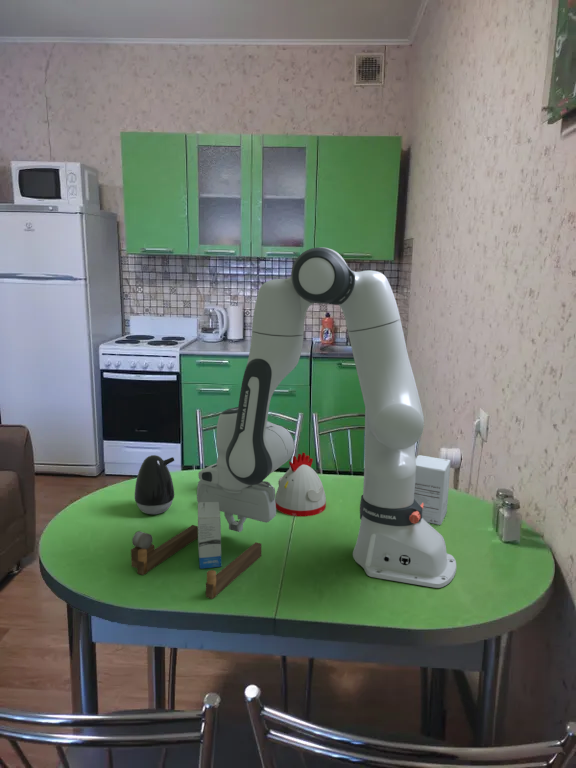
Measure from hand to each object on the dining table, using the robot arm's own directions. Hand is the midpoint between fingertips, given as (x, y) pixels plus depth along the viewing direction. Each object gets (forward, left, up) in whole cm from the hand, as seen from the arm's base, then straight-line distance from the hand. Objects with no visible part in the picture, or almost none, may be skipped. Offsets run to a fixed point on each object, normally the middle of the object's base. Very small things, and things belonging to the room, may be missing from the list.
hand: (235, 530), depth 131 cm
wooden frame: (+1, +14, -2) cm, 14 cm away
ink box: (0, +11, -2) cm, 11 cm away
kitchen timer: (-5, -25, -2) cm, 25 cm away
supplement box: (-37, -36, -2) cm, 51 cm away
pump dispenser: (+27, -3, -2) cm, 27 cm away
